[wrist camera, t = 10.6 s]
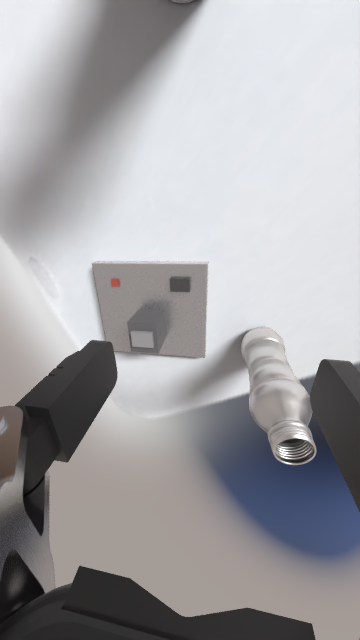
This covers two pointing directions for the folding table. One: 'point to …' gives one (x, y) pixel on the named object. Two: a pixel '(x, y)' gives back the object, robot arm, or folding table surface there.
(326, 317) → the folding table surface
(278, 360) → the plastic bottle
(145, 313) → the plug
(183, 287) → the socket plate
